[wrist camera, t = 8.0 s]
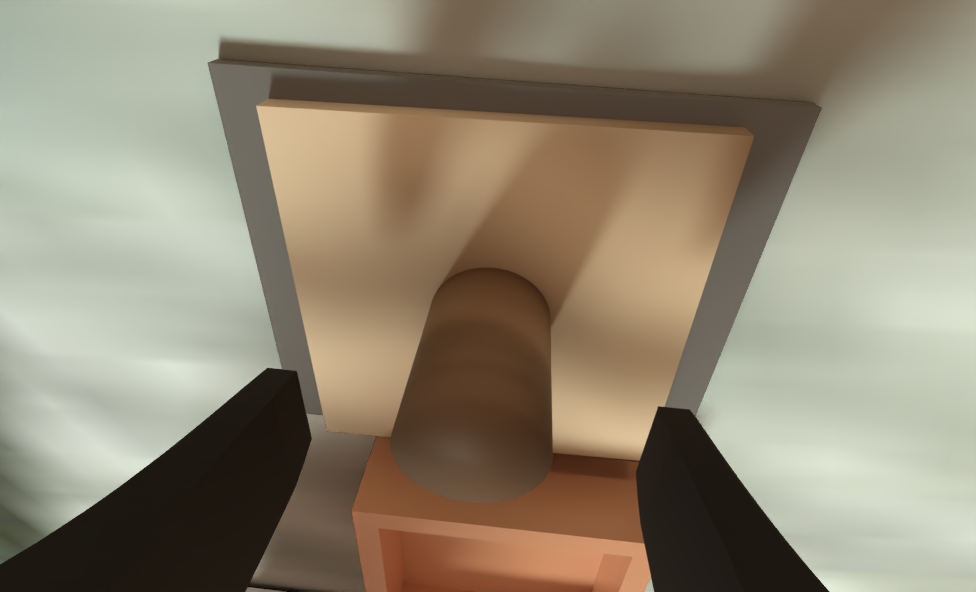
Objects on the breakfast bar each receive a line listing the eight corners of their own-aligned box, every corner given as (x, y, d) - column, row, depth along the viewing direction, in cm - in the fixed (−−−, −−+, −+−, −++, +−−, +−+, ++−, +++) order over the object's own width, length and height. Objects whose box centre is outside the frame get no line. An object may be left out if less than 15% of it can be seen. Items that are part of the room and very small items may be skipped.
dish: (600, 596, 23) (606, 673, 21) (392, 571, 24) (375, 644, 21) (648, 463, 18) (665, 545, 16) (376, 434, 18) (351, 510, 16)
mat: (677, 442, 17) (680, 452, 17) (297, 403, 18) (293, 412, 17) (813, 103, 11) (821, 107, 11) (217, 59, 12) (207, 62, 11)
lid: (643, 446, 17) (675, 608, 13) (332, 417, 17) (268, 564, 13) (745, 127, 11) (864, 240, 7) (268, 98, 12) (116, 188, 7)
